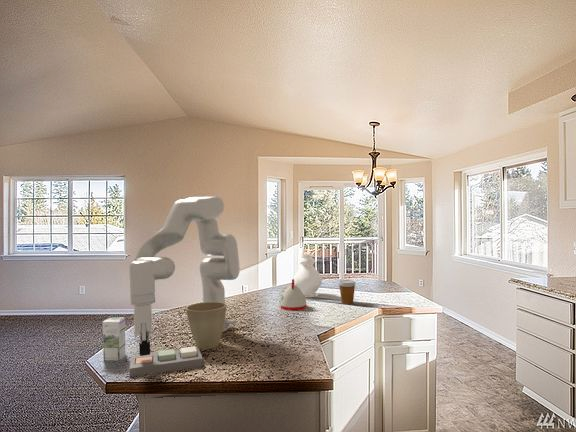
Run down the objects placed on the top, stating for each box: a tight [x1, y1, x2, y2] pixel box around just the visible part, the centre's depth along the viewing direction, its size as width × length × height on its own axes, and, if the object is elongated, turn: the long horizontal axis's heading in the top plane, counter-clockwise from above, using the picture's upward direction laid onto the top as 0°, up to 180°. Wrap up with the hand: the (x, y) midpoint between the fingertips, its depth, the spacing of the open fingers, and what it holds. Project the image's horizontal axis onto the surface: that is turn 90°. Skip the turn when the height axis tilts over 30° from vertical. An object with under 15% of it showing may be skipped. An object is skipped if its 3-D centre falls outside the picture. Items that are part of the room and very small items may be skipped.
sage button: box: [158, 348, 175, 361], centre depth 127 cm, size 5×5×2 cm
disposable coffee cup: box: [338, 279, 356, 305], centre depth 215 cm, size 10×10×12 cm
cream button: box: [179, 346, 197, 358], centre depth 129 cm, size 5×5×2 cm
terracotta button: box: [135, 356, 152, 364], centre depth 125 cm, size 5×5×2 cm
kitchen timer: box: [280, 278, 307, 311], centre depth 208 cm, size 14×14×15 cm
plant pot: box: [185, 301, 227, 350], centre depth 145 cm, size 15×15×16 cm
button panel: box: [129, 346, 204, 378], centre depth 127 cm, size 22×12×4 cm, turn 109°
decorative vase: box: [293, 253, 323, 298], centre depth 238 cm, size 18×18×25 cm
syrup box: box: [102, 317, 127, 361], centre depth 135 cm, size 6×6×14 cm
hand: (145, 354), depth 125 cm, fingers closed
